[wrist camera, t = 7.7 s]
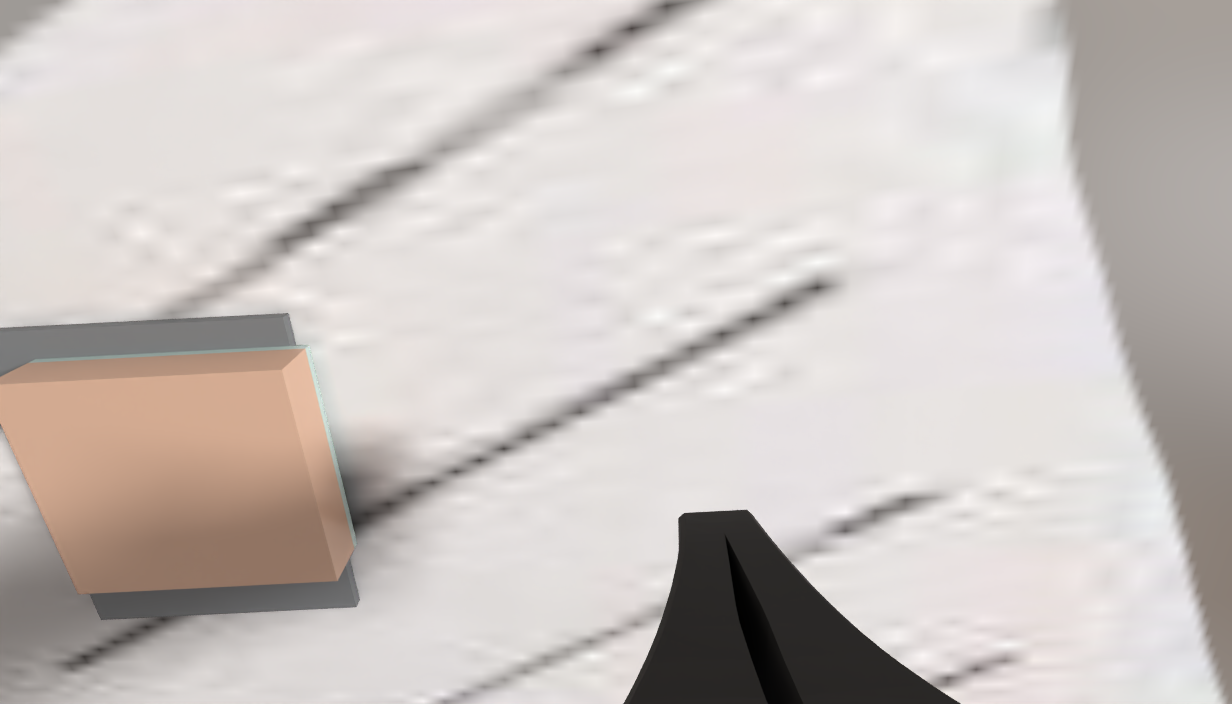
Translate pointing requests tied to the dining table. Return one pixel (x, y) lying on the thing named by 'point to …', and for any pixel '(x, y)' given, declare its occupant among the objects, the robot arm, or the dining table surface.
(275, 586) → the mat
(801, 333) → the dining table surface
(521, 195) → the dining table surface
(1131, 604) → the dining table surface
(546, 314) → the dining table surface
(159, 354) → the peach green flat block
